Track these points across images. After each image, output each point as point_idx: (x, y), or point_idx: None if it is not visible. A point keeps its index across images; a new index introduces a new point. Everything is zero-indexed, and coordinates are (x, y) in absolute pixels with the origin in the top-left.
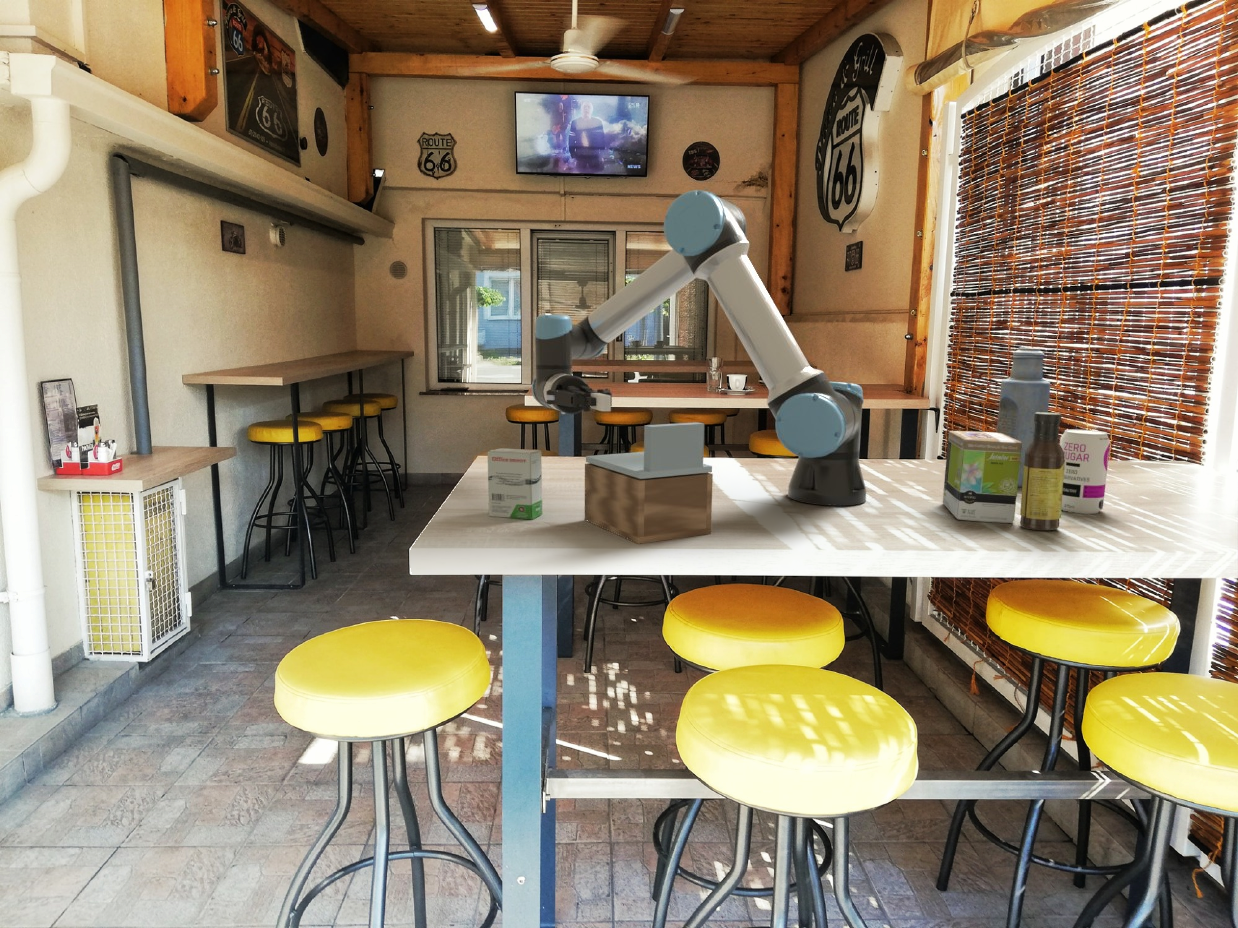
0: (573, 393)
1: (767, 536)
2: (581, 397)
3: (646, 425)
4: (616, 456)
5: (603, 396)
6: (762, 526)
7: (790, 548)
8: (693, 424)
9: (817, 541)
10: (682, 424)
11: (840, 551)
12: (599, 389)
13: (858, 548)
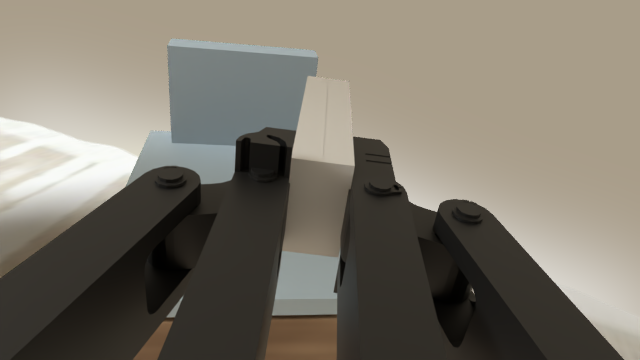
0: (489, 233)
1: (87, 212)
2: (419, 210)
3: (314, 56)
4: (283, 261)
5: (345, 83)
6: (18, 250)
7: (123, 175)
8: (203, 41)
9: (52, 178)
10: (228, 45)
11: (82, 153)
12: (274, 142)
13: (47, 151)
